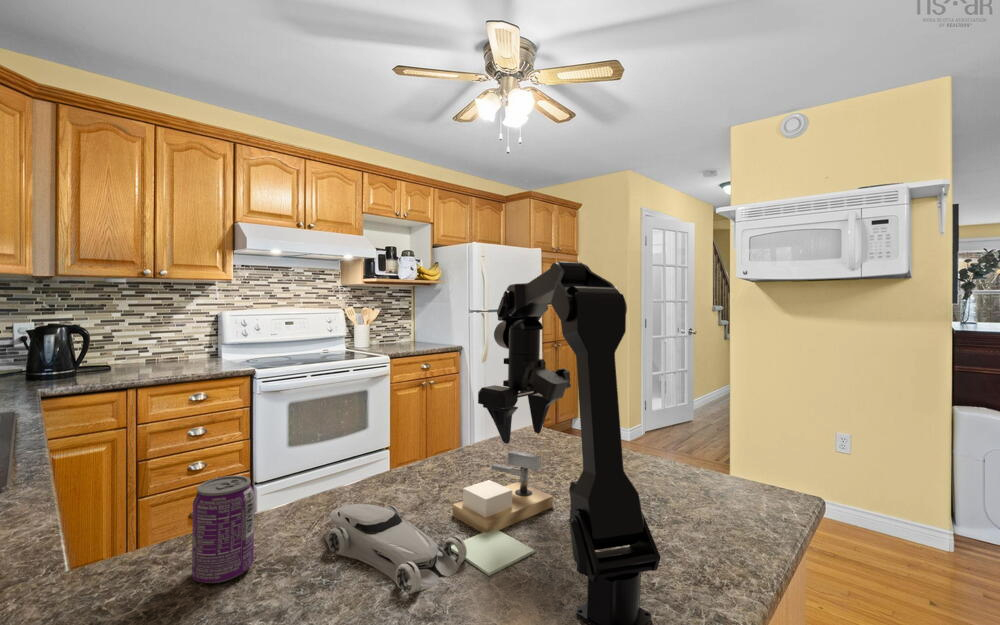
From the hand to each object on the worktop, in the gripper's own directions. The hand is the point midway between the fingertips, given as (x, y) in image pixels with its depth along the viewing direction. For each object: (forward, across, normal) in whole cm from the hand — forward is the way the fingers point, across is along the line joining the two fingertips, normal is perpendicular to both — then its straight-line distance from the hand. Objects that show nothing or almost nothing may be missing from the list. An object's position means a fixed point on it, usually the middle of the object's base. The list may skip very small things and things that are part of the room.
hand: (522, 437), depth 85 cm
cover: (+10, -8, +1) cm, 13 cm away
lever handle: (+10, 0, +2) cm, 10 cm away
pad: (+12, -16, -7) cm, 21 cm away
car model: (+13, -26, +5) cm, 29 cm away
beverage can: (+13, -44, +16) cm, 49 cm away
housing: (+12, -4, 0) cm, 13 cm away
